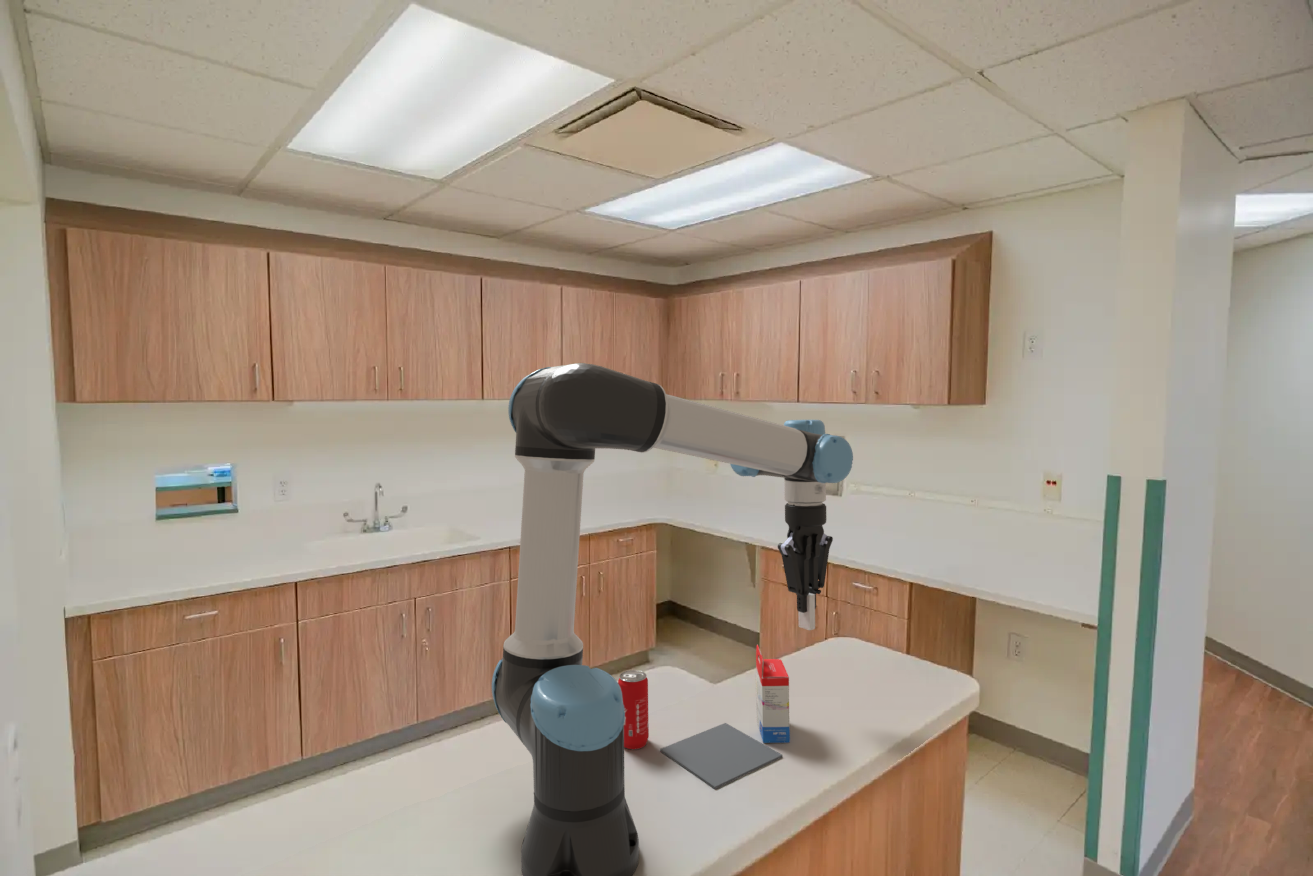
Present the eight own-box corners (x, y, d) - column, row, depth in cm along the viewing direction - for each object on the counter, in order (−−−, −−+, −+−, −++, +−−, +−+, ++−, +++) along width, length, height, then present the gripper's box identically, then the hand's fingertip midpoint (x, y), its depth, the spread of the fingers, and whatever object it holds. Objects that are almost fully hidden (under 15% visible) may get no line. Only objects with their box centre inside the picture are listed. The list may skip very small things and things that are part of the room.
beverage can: (645, 752, 110) (644, 682, 109) (615, 749, 111) (614, 680, 111) (651, 737, 115) (650, 670, 115) (623, 734, 116) (622, 668, 116)
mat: (714, 789, 99) (714, 786, 99) (660, 751, 110) (660, 749, 110) (782, 757, 108) (782, 754, 108) (725, 725, 119) (725, 722, 119)
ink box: (790, 744, 112) (790, 660, 111) (762, 744, 112) (761, 660, 112) (782, 720, 121) (781, 643, 120) (755, 720, 121) (755, 643, 120)
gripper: (797, 508, 113) (798, 641, 114) (844, 501, 121) (845, 625, 122) (765, 504, 119) (767, 630, 120) (812, 497, 127) (814, 615, 128)
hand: (806, 627), depth 121 cm, fingers closed
